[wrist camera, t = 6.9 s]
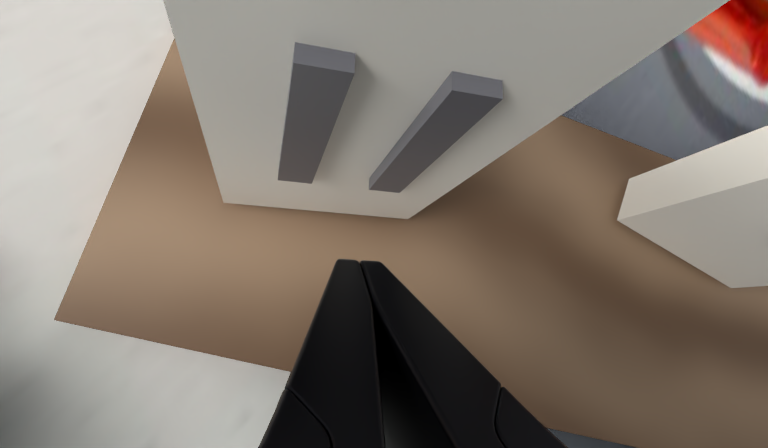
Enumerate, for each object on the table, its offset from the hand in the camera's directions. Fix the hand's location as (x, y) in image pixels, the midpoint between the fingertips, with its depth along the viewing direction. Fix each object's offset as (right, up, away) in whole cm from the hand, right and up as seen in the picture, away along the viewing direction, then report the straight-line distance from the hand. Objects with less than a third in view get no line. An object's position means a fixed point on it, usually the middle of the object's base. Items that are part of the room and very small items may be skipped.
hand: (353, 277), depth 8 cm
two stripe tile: (-1, +2, +6) cm, 7 cm away
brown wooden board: (+5, 0, +9) cm, 10 cm away
